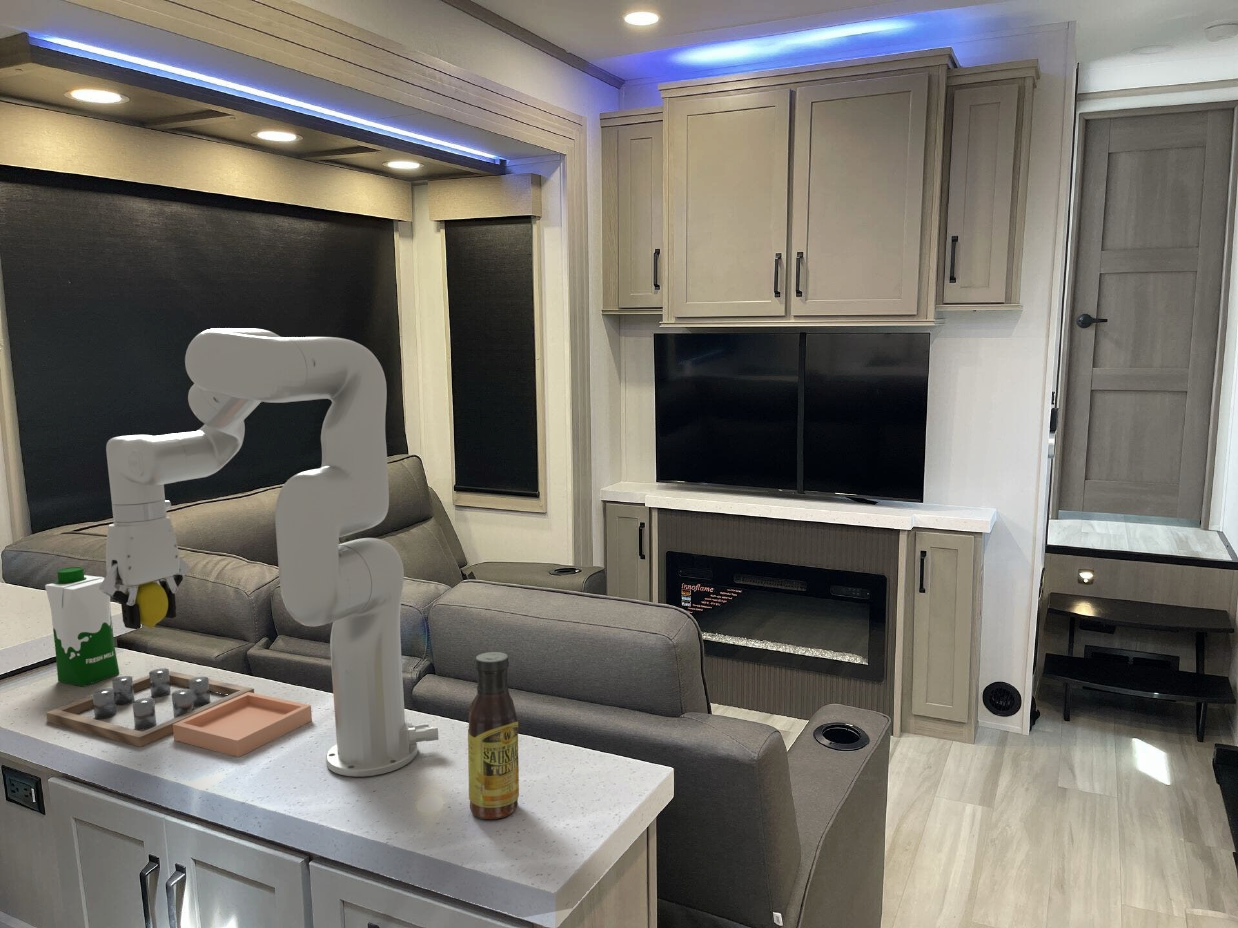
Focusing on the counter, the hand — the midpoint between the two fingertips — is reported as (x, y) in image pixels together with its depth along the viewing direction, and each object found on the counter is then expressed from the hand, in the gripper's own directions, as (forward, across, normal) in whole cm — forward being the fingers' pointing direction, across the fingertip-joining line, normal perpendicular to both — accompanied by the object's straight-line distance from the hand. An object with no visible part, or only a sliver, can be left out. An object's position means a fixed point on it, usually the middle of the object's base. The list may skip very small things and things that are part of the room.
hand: (150, 621), depth 146 cm
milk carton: (+15, -5, -26) cm, 30 cm away
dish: (+15, 0, +20) cm, 25 cm away
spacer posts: (+15, 0, -2) cm, 15 cm away
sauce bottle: (+16, +4, +69) cm, 71 cm away
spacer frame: (+15, 0, -2) cm, 15 cm away
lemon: (+1, 0, 0) cm, 1 cm away
